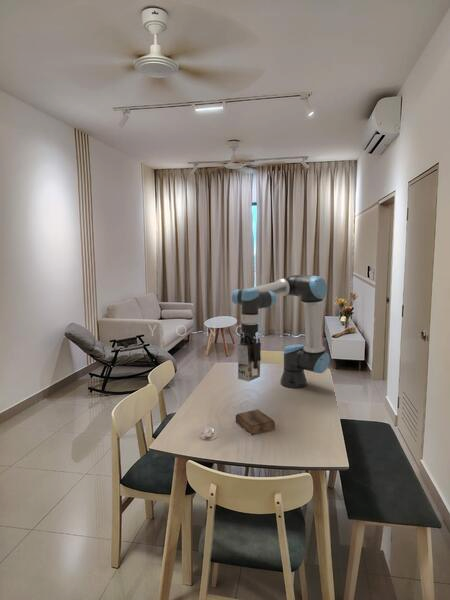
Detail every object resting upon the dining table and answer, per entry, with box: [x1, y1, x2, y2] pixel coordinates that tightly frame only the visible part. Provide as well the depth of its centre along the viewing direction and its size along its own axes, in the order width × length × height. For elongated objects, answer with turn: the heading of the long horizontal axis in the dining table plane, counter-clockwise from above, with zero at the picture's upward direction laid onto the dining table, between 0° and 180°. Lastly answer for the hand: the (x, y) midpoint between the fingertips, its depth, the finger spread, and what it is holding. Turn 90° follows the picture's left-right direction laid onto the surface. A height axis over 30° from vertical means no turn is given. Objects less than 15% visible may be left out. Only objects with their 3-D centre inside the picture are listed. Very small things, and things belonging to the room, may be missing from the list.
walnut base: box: [235, 408, 276, 436], centre depth 171 cm, size 12×14×4 cm
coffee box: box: [237, 342, 262, 382], centre depth 173 cm, size 9×6×16 cm
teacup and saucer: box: [204, 426, 215, 438], centre depth 162 cm, size 9×8×4 cm
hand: (249, 372), depth 174 cm, fingers closed on coffee box, 8 cm apart
